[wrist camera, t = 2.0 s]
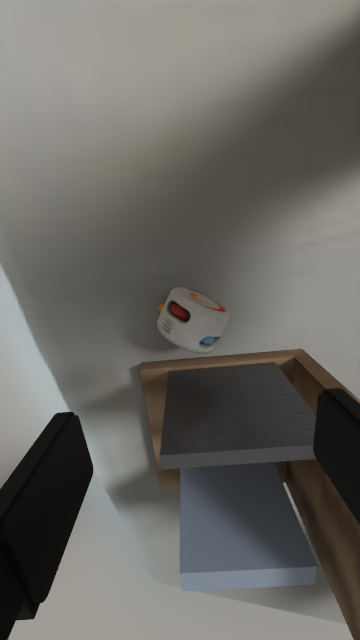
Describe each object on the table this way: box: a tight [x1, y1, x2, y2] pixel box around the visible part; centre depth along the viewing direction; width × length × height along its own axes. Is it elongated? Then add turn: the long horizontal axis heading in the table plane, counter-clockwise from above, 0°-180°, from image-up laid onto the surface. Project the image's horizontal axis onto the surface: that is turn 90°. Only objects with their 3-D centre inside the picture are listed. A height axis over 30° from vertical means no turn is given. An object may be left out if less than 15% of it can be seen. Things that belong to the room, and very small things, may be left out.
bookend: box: [160, 362, 316, 469], centre depth 19 cm, size 1×11×10 cm, turn 96°
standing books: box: [180, 462, 318, 591], centre depth 24 cm, size 5×11×10 cm, turn 96°
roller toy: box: [157, 287, 230, 353], centre depth 21 cm, size 4×6×6 cm
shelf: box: [140, 349, 360, 640], centre depth 20 cm, size 18×18×16 cm
